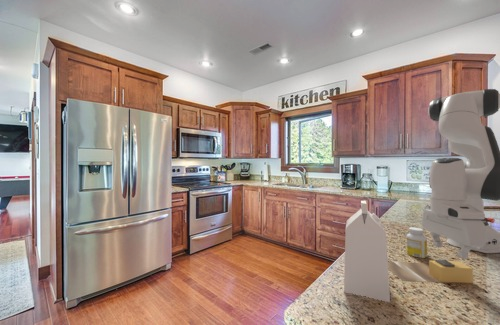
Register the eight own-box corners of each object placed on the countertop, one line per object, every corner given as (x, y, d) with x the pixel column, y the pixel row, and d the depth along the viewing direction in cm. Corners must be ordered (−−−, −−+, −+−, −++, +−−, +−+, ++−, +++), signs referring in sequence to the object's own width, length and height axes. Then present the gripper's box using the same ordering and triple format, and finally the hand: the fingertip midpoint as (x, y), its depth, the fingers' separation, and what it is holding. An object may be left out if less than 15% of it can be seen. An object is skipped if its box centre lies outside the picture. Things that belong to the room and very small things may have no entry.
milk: (345, 274, 74) (344, 198, 75) (384, 281, 69) (382, 200, 70) (344, 292, 64) (342, 203, 64) (390, 302, 59) (387, 206, 59)
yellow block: (458, 274, 71) (458, 259, 71) (473, 283, 66) (472, 266, 66) (429, 273, 72) (428, 258, 72) (441, 281, 67) (440, 265, 67)
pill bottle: (423, 255, 89) (422, 227, 90) (430, 262, 83) (429, 231, 84) (404, 253, 92) (404, 226, 92) (410, 259, 85) (409, 230, 86)
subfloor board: (437, 266, 79) (437, 263, 79) (472, 287, 65) (472, 283, 65) (380, 264, 81) (380, 261, 81) (402, 284, 67) (402, 280, 67)
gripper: (416, 203, 80) (416, 240, 79) (465, 214, 59) (467, 265, 59) (434, 203, 79) (435, 241, 79) (491, 214, 59) (492, 266, 58)
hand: (449, 251), depth 69 cm, fingers open, 8 cm apart
